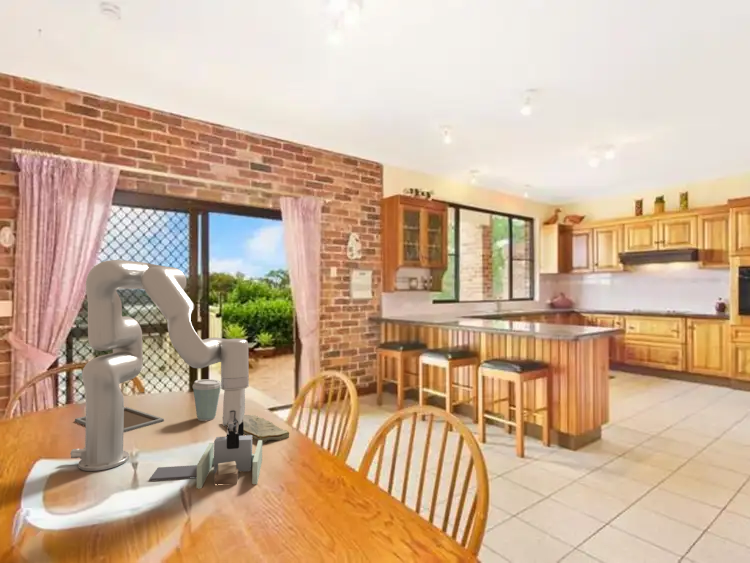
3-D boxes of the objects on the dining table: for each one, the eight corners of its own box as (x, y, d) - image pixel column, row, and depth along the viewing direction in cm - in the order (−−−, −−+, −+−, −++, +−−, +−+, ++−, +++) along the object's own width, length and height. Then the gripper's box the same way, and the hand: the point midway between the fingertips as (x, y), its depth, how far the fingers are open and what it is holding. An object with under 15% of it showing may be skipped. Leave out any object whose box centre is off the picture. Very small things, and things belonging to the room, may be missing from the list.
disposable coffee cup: (211, 412, 173) (211, 376, 174) (226, 417, 167) (227, 380, 167) (186, 419, 165) (187, 380, 165) (202, 425, 159) (202, 385, 159)
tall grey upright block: (213, 473, 119) (214, 441, 119) (216, 468, 122) (216, 436, 122) (250, 471, 120) (251, 439, 121) (251, 465, 124) (252, 435, 124)
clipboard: (111, 433, 146) (71, 417, 162) (111, 437, 146) (71, 421, 162) (164, 418, 162) (123, 405, 178) (164, 422, 162) (123, 409, 178)
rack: (196, 488, 110) (196, 465, 110) (209, 463, 125) (209, 442, 125) (257, 484, 112) (257, 461, 112) (262, 459, 128) (262, 440, 128)
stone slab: (247, 410, 169) (291, 425, 148) (247, 420, 168) (291, 437, 148) (218, 416, 160) (260, 433, 139) (218, 427, 160) (260, 446, 139)
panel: (149, 480, 114) (149, 478, 114) (157, 469, 121) (158, 467, 121) (200, 477, 116) (200, 475, 116) (206, 466, 123) (206, 464, 123)
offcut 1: (218, 475, 112) (218, 467, 112) (217, 471, 114) (218, 463, 114) (236, 472, 113) (236, 464, 113) (234, 468, 116) (235, 460, 116)
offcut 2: (214, 486, 112) (214, 475, 112) (216, 480, 115) (217, 469, 115) (236, 485, 112) (236, 473, 112) (238, 479, 116) (238, 468, 116)
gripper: (226, 376, 129) (226, 432, 129) (215, 390, 112) (216, 454, 112) (251, 375, 131) (252, 430, 130) (244, 388, 114) (245, 452, 113)
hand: (235, 441), depth 121 cm, fingers open, 9 cm apart
